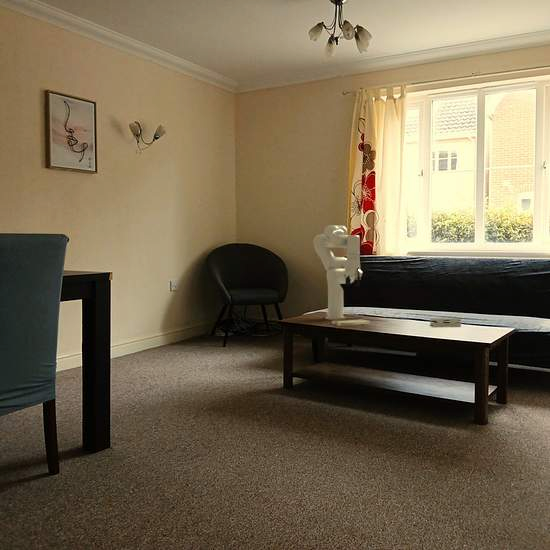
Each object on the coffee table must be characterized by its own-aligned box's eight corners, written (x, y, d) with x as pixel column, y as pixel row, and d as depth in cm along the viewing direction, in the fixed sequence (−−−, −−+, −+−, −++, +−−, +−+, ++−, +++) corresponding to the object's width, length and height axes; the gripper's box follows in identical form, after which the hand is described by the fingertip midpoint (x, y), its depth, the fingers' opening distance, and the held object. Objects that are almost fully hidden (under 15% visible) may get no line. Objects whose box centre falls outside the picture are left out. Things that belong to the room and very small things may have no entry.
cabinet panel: (332, 324, 326) (332, 318, 325) (360, 322, 335) (360, 316, 335) (342, 326, 317) (342, 320, 317) (370, 324, 326) (370, 318, 326)
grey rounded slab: (462, 326, 317) (455, 326, 327) (462, 318, 317) (454, 318, 327) (433, 327, 315) (427, 326, 325) (433, 318, 316) (427, 318, 325)
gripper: (339, 256, 331) (339, 285, 332) (356, 256, 315) (355, 287, 316) (350, 256, 334) (349, 284, 335) (367, 256, 319) (366, 286, 320)
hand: (352, 285), depth 326 cm, fingers open, 9 cm apart
